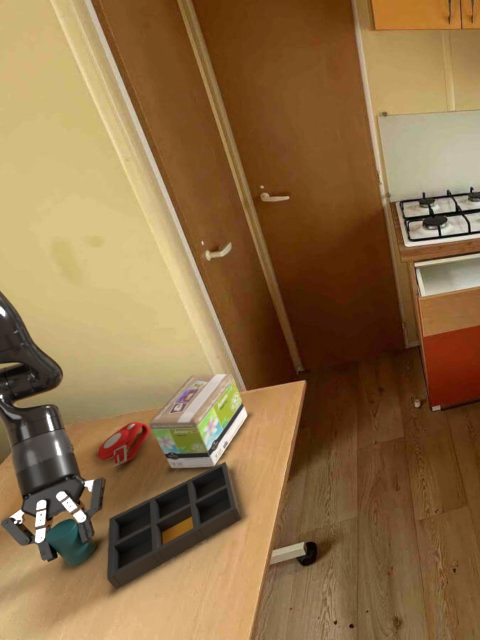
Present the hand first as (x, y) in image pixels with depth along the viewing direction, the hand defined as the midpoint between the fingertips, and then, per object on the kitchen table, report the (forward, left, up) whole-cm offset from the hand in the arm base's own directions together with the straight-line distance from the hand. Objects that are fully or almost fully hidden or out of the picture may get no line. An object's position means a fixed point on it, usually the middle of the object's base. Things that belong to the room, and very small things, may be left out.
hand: (70, 550), depth 77 cm
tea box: (+23, +16, -4) cm, 28 cm away
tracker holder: (+6, +26, -4) cm, 27 cm away
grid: (+15, -3, -4) cm, 16 cm away
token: (0, +2, -4) cm, 4 cm away
